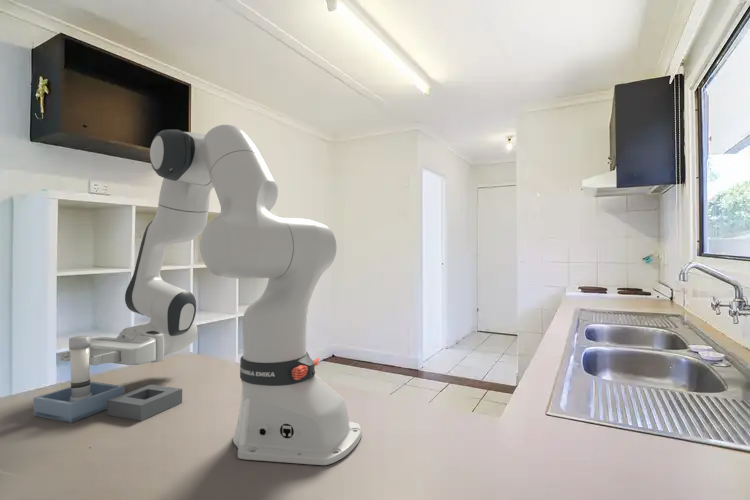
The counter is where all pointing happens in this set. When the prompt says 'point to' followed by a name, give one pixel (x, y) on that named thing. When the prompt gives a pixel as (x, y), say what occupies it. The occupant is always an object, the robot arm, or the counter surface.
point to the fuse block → (144, 402)
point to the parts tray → (64, 410)
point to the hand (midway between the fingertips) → (76, 359)
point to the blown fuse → (80, 368)
